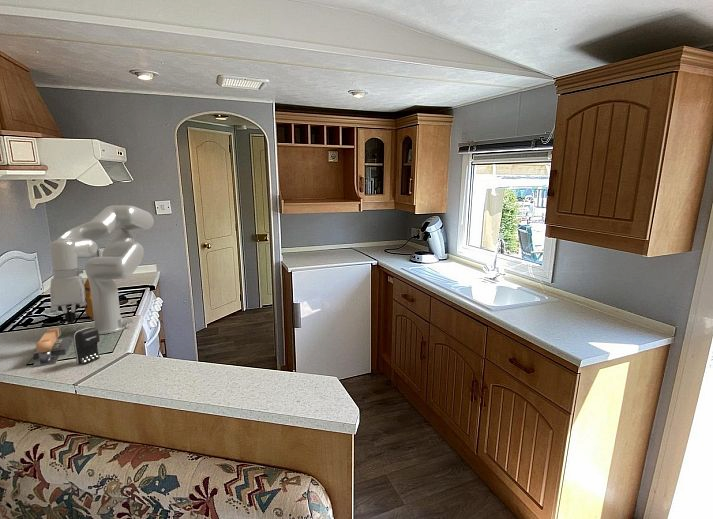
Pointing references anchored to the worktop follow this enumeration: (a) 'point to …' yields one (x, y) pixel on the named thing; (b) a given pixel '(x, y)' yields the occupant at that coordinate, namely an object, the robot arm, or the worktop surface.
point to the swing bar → (48, 339)
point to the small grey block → (45, 359)
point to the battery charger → (86, 345)
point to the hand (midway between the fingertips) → (70, 322)
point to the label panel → (57, 347)
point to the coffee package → (88, 300)
